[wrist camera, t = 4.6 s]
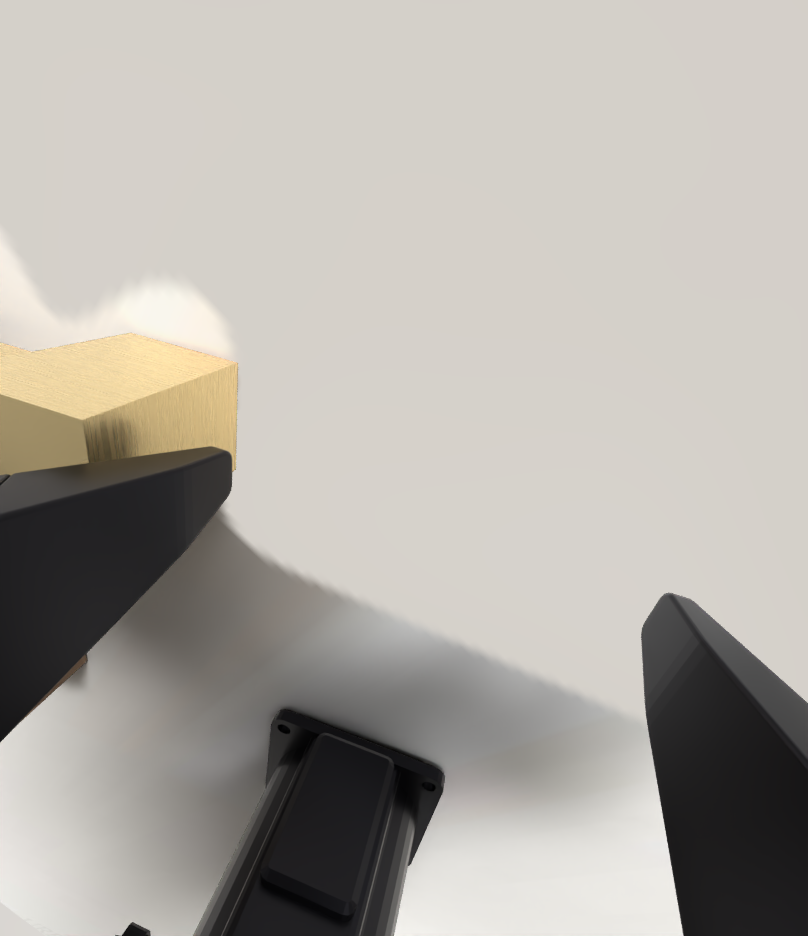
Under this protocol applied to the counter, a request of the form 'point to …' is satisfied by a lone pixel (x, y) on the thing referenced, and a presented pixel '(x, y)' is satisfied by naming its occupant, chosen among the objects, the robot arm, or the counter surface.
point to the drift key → (112, 402)
